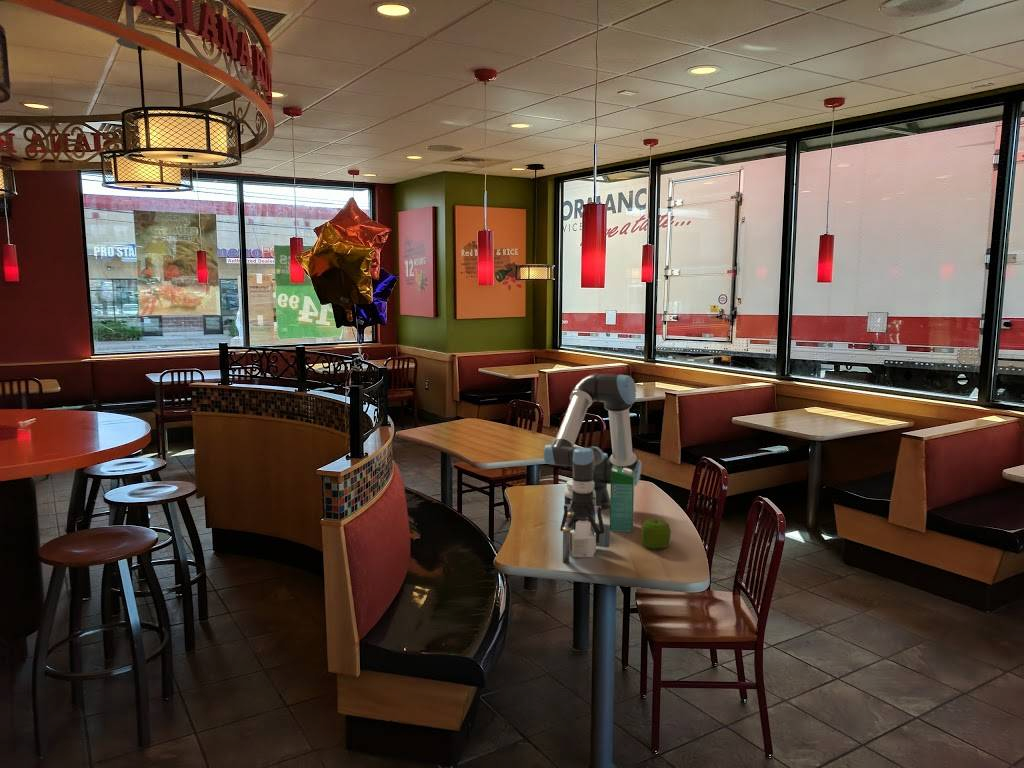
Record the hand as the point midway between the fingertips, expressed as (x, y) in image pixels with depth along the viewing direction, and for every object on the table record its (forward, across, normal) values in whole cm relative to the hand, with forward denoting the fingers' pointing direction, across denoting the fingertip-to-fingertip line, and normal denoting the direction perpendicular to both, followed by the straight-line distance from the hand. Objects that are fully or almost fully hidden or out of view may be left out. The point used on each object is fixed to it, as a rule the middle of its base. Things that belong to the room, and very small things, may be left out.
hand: (582, 550), depth 266 cm
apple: (+2, +27, +12) cm, 30 cm away
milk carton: (+2, +14, +31) cm, 34 cm away
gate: (0, +3, +7) cm, 7 cm away
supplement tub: (+2, -3, +31) cm, 31 cm away
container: (+1, 0, 0) cm, 2 cm away
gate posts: (+1, -5, 0) cm, 5 cm away
